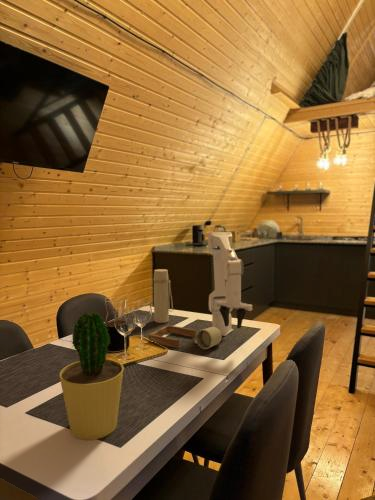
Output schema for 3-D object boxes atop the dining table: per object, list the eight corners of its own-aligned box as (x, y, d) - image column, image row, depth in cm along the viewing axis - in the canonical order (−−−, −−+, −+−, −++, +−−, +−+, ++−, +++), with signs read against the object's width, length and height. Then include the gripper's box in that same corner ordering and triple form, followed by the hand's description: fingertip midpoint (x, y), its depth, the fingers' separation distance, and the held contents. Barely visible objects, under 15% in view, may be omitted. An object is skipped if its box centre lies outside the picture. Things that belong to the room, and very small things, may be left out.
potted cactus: (132, 412, 103) (130, 303, 100) (112, 448, 88) (108, 320, 85) (78, 408, 106) (74, 301, 102) (50, 441, 91) (44, 317, 87)
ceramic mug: (223, 345, 154) (223, 326, 153) (211, 351, 147) (211, 331, 146) (201, 340, 160) (201, 322, 159) (189, 345, 154) (189, 327, 153)
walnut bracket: (167, 331, 171) (167, 325, 170) (195, 336, 164) (195, 329, 164) (148, 342, 158) (148, 334, 157) (177, 347, 151) (177, 340, 150)
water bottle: (152, 323, 183) (151, 271, 180) (156, 318, 190) (155, 268, 188) (171, 324, 181) (170, 271, 178) (174, 319, 189) (173, 269, 186)
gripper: (211, 291, 145) (211, 326, 147) (247, 295, 138) (247, 332, 140) (219, 288, 151) (218, 321, 153) (254, 292, 144) (253, 327, 146)
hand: (233, 326), depth 147 cm, fingers open, 4 cm apart
